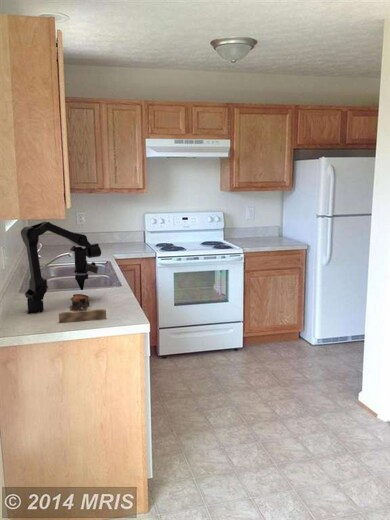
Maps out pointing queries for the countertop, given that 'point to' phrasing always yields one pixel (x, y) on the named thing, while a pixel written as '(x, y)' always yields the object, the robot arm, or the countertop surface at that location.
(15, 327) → the countertop surface
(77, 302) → the pottery mug
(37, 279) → the robot arm
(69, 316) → the walnut board
